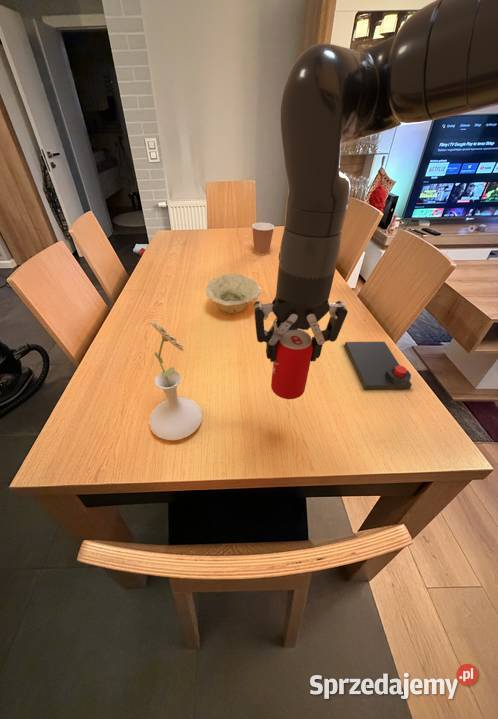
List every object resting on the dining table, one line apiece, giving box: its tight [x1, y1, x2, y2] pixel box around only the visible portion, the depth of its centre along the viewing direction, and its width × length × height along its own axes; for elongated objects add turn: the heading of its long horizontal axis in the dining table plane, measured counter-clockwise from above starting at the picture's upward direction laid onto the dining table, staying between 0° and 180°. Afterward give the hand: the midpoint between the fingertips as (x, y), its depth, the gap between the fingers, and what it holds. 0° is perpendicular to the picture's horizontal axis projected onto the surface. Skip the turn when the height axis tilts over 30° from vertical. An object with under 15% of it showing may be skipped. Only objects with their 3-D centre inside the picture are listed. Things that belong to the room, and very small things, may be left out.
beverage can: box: [270, 329, 313, 400], centre depth 52 cm, size 6×6×12 cm
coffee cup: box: [251, 222, 275, 256], centre depth 140 cm, size 10×10×12 cm
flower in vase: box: [148, 319, 203, 441], centre depth 60 cm, size 13×11×25 cm
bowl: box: [205, 273, 261, 314], centre depth 100 cm, size 14×18×15 cm
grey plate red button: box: [343, 341, 413, 391], centre depth 83 cm, size 18×12×4 cm, turn 3°
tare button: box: [393, 365, 408, 378], centre depth 77 cm, size 3×3×2 cm
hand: (292, 358), depth 51 cm, fingers closed on beverage can, 6 cm apart
